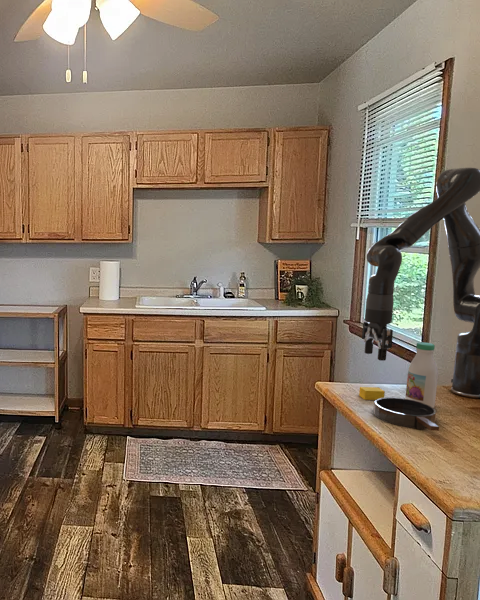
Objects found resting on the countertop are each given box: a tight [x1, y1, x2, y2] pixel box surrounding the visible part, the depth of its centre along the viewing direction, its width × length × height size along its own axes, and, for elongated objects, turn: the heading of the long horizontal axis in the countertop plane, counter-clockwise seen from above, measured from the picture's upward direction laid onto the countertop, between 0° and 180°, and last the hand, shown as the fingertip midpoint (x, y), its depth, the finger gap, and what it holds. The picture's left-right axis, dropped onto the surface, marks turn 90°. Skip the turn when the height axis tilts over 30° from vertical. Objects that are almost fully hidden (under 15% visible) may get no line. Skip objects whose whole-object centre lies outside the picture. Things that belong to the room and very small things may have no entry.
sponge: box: [358, 386, 386, 401], centre depth 163 cm, size 6×4×3 cm, turn 85°
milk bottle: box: [404, 341, 439, 409], centre depth 154 cm, size 8×8×20 cm
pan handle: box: [414, 416, 440, 432], centre depth 135 cm, size 7×2×3 cm, turn 175°
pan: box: [372, 396, 437, 429], centre depth 146 cm, size 15×15×4 cm
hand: (374, 356), depth 161 cm, fingers open, 8 cm apart
